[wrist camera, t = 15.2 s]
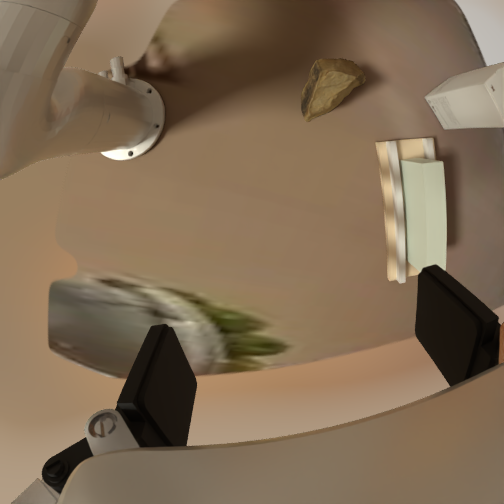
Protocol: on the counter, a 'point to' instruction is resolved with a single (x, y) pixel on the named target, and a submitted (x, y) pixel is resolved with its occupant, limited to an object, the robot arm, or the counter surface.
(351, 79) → the rock
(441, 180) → the door panel
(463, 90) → the skincare box
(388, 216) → the bottom track
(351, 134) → the counter surface
